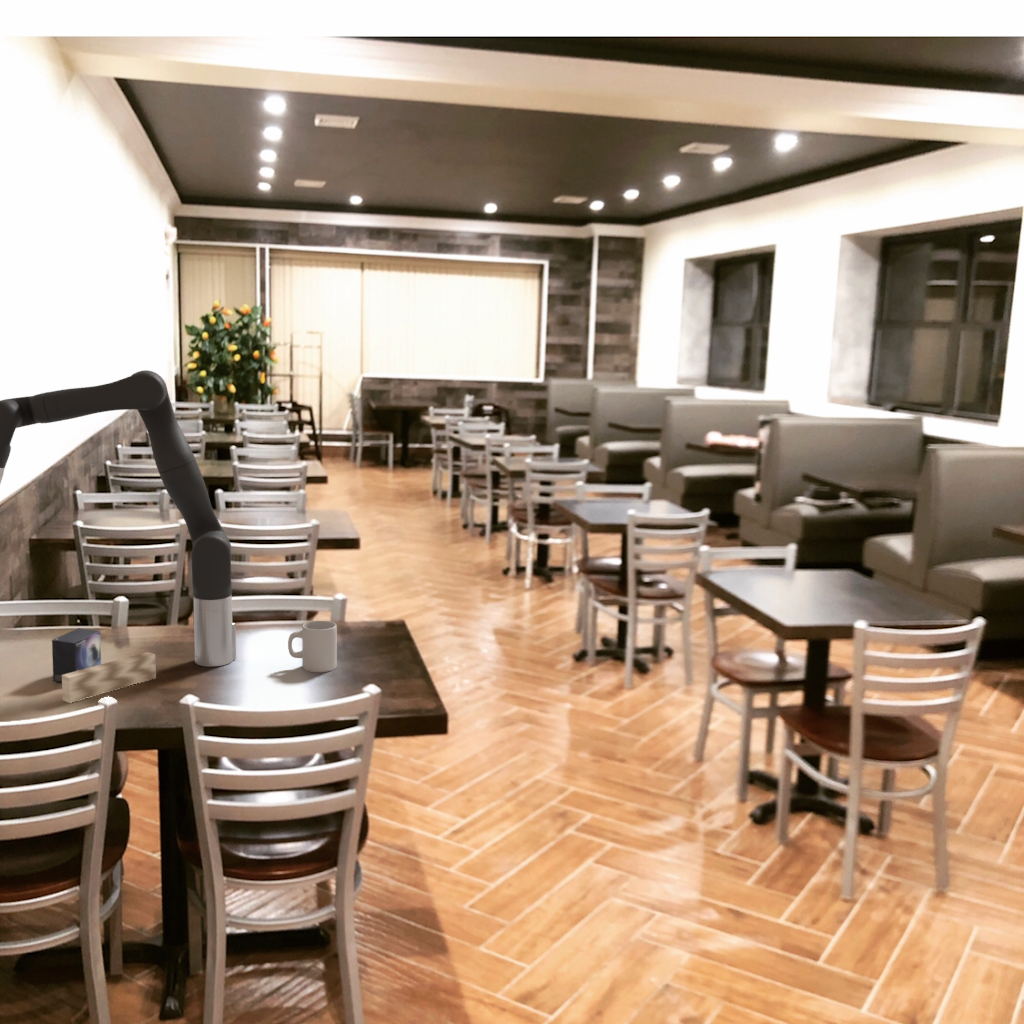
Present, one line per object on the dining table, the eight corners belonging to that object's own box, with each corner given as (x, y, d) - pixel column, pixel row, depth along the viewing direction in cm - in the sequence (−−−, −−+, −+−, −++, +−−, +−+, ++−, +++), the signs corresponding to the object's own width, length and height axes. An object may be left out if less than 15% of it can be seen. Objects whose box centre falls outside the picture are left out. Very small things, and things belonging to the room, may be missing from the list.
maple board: (148, 675, 243) (147, 651, 242) (156, 678, 242) (155, 654, 241) (62, 700, 226) (61, 674, 225) (70, 703, 224) (69, 677, 223)
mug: (336, 661, 259) (336, 620, 257) (337, 672, 250) (337, 629, 249) (288, 662, 256) (288, 621, 254) (287, 673, 248) (287, 630, 246)
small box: (76, 685, 236) (74, 642, 234) (51, 682, 237) (49, 639, 235) (103, 671, 246) (101, 629, 244) (79, 668, 247) (77, 627, 245)
